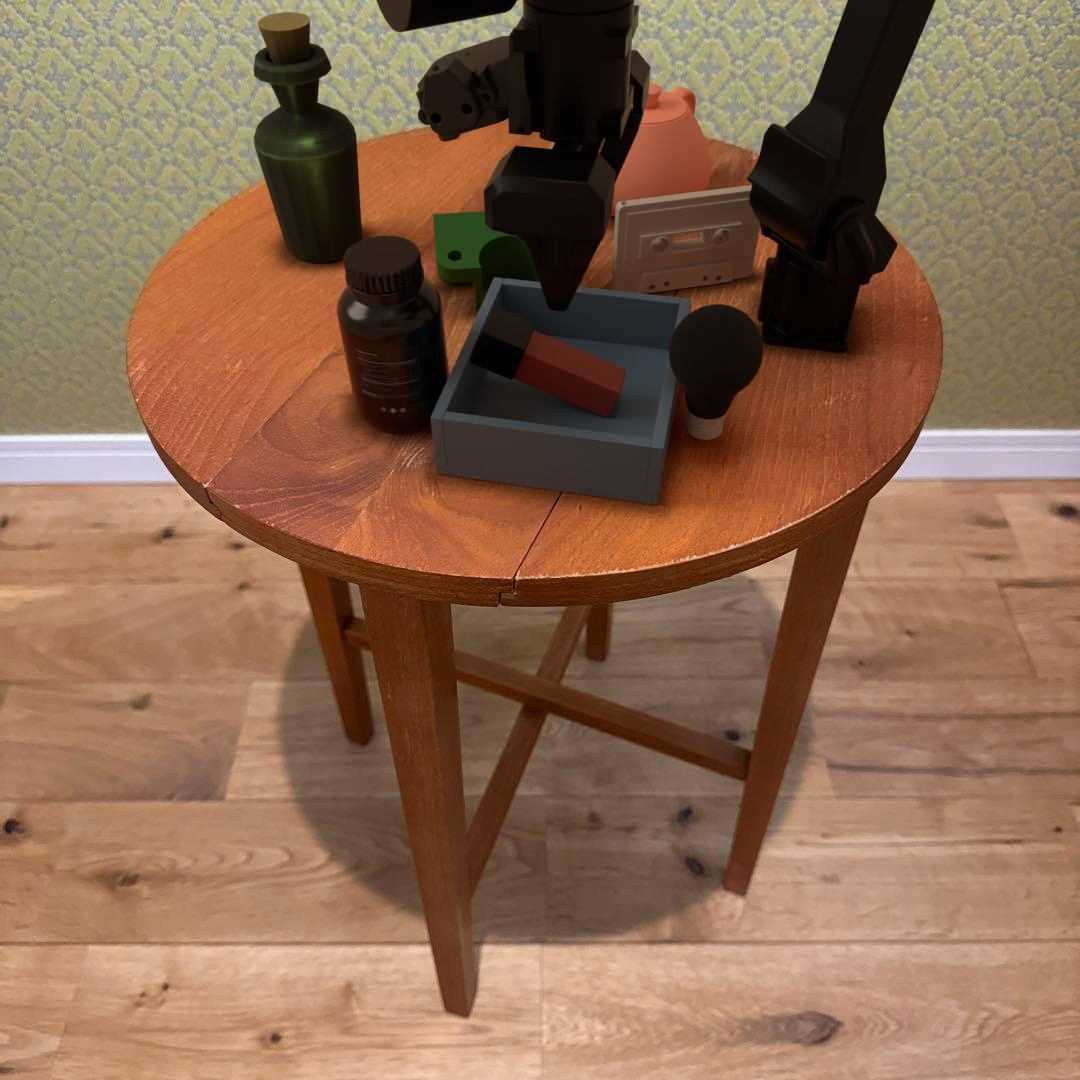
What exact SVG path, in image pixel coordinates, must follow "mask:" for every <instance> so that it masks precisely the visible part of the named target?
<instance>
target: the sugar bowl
mask: <svg viewBox="0 0 1080 1080" xmlns="http://www.w3.org/2000/svg"><path fill="white" fill-rule="evenodd" d="M696 104H697V99H696V94H695V93H694V91H692V90H691V89H689V88H687V87H676V88H674V89H672V90H671V91H670V92H669V91H666V90H663V88H662V87H661V85H659V84H657V83H654V82H649V95H648V100H647V103H646V106H645V109H644V114H643V118H642V121H641V124H640V127H639V130H638V133H637V135H636V137H635V140H634V142H633V144H632V146H631V149H630V151H629V153H628V155H627V158H626V159H625V162H624V164H623V166H622V169H621V171H620V173H619V176H618V178H617V180H616V182H615V188H614V197H613V204H612V214H611V217H615V212H616V205H617V203H618V202H620V201H627V200H635V199H643V198H651V197H659V196H667V195H675V194H683V193H691V192H699V191H706V190H707V188H708V185H709V183H710V176H711V163H710V162H711V161H710V154H709V149H708V144H707V141H706V137H705V135H704V133H703V130H702V128H701V126H700V123H699V122H698V120H697V118H696V116H695V113H696V107H697V105H696ZM632 107H633V104H632Z"/></svg>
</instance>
